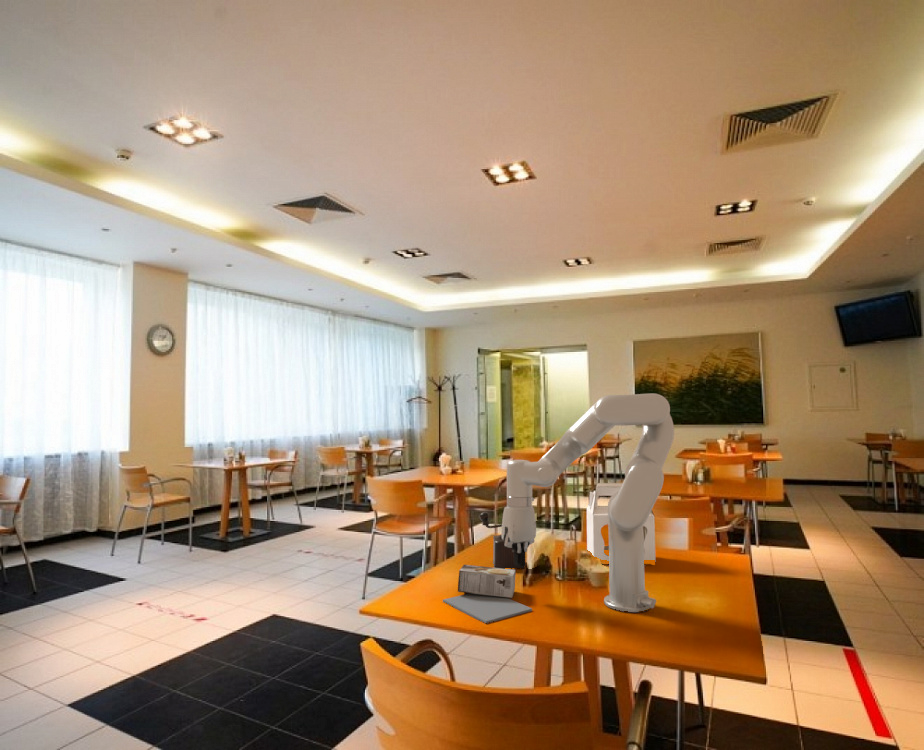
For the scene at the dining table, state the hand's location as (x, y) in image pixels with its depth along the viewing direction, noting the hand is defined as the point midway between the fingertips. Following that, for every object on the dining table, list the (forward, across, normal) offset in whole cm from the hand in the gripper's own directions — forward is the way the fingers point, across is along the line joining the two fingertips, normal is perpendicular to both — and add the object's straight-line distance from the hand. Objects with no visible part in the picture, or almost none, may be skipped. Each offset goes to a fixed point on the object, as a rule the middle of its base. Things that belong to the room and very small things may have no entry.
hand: (519, 565), depth 160 cm
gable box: (+9, -58, -10) cm, 59 cm away
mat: (+9, +12, 0) cm, 15 cm away
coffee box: (+6, 0, -2) cm, 6 cm away
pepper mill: (+10, -18, -30) cm, 36 cm away
